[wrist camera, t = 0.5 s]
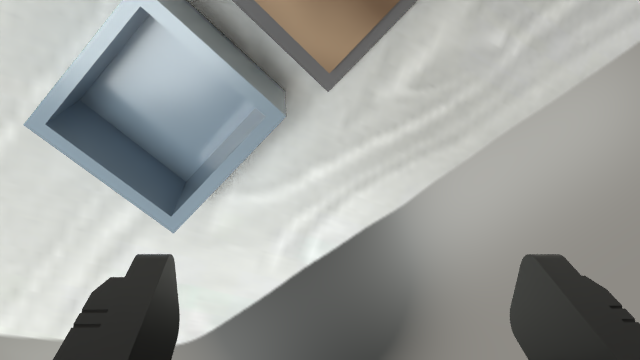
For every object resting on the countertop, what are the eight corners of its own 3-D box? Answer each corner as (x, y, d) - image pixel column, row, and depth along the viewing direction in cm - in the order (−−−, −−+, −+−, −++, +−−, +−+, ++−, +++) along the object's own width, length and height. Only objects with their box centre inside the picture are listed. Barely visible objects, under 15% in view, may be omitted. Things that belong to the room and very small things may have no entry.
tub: (162, -22, 30) (136, -19, 25) (284, 91, 33) (286, 116, 28) (66, 97, 32) (23, 124, 27) (189, 191, 36) (173, 233, 30)
